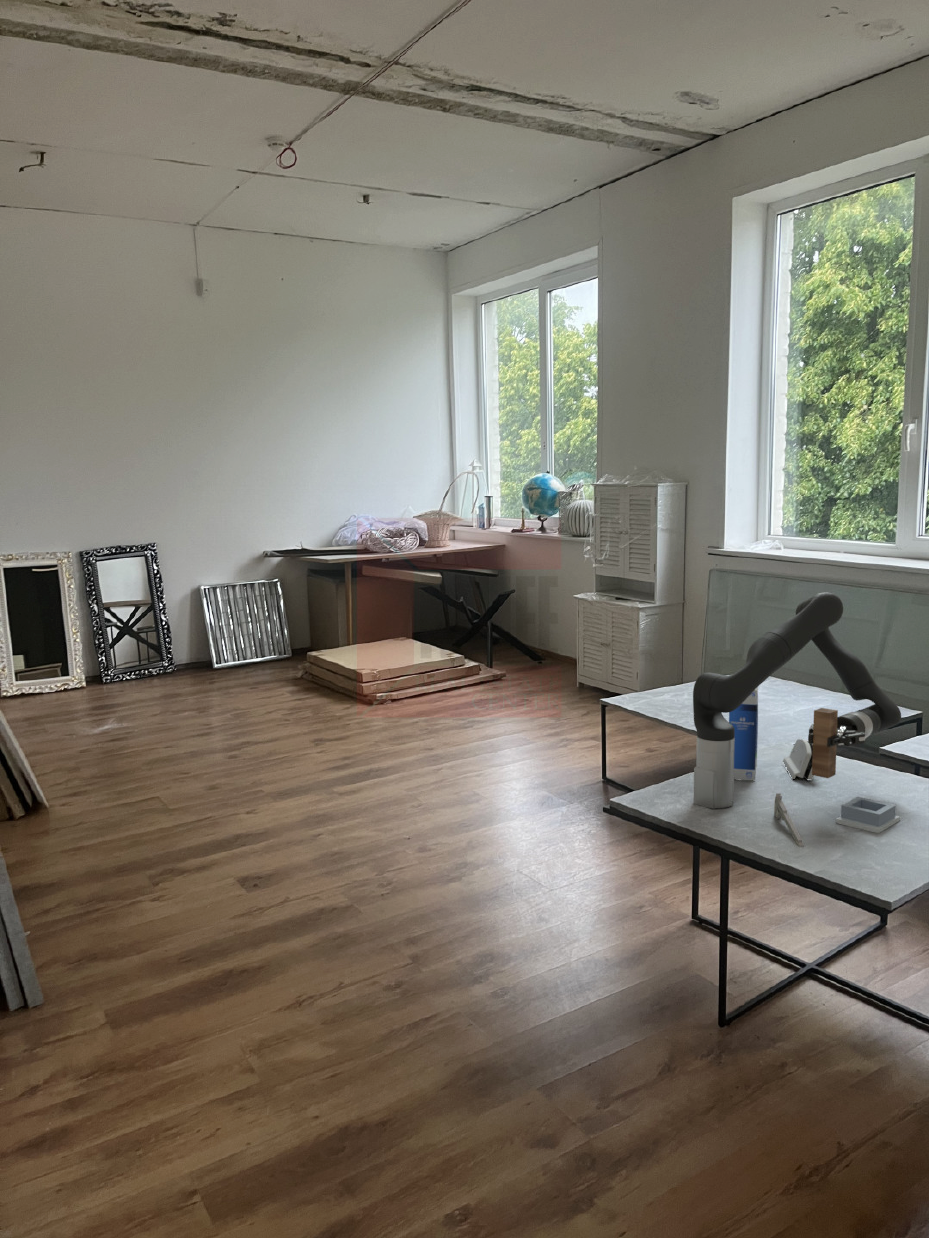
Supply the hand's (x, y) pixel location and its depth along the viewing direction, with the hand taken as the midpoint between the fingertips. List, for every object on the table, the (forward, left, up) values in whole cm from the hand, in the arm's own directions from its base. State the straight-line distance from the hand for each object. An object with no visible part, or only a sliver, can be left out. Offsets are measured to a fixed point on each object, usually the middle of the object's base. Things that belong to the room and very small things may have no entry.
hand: (819, 740), depth 217 cm
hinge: (+30, +23, -19) cm, 42 cm away
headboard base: (+6, -10, -19) cm, 22 cm away
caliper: (-13, -1, -19) cm, 24 cm away
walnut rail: (+3, 0, -9) cm, 9 cm away
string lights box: (+16, +32, -19) cm, 41 cm away
